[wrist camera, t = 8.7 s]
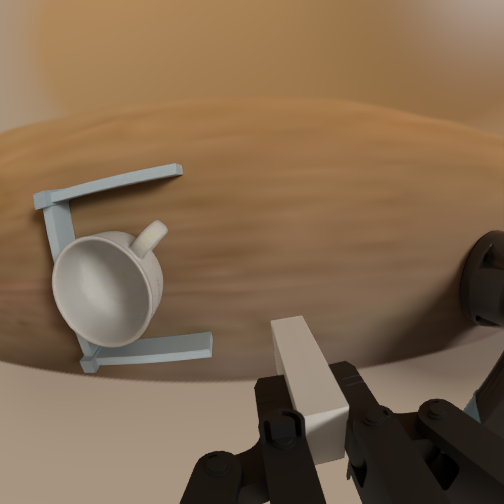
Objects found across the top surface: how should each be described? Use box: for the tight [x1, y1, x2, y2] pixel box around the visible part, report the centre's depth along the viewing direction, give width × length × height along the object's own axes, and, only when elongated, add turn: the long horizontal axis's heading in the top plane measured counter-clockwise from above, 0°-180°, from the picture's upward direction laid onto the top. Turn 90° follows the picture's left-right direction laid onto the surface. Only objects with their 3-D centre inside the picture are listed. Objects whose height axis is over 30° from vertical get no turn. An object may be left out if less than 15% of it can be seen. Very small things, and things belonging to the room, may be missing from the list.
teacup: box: [52, 220, 168, 347], centre depth 28 cm, size 14×11×8 cm
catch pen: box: [33, 163, 213, 373], centre depth 30 cm, size 15×21×5 cm
